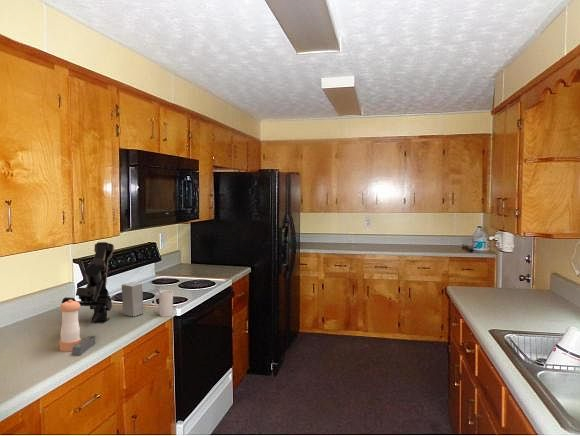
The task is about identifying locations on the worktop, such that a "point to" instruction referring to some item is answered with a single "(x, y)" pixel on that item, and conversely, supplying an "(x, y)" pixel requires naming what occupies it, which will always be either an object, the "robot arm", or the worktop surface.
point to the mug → (164, 303)
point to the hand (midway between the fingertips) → (79, 322)
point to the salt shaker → (69, 325)
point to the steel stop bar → (83, 345)
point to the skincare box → (132, 299)
